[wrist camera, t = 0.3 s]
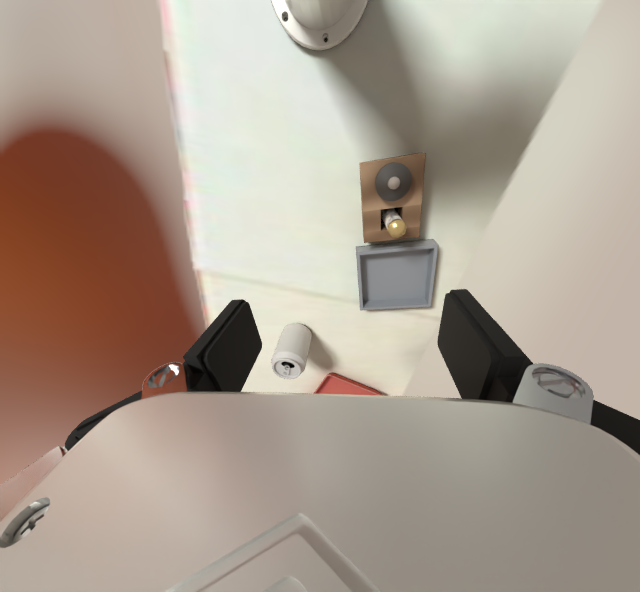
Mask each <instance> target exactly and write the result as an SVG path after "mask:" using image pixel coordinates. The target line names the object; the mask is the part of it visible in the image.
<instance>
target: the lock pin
mask: <svg viewBox="0 0 640 592" xmlns="http://www.w3.org/2000/svg"><path fill="white" fill-rule="evenodd" d="M381 216H382V219H383V221H384V223H385V225H386V227H387V229H388V232H389V234H390V235H391V236H392V237H394V238H399V237H401V236H403V235H404V234H405V232H406V229H407V227H406V224H405V223H404V221H403V220H402V219H401V217H400V216H399V215H398V213H397V212H396V211H395V209H394V208H389V209H383V210H382V212H381Z"/></svg>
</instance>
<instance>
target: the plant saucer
mask: <svg viewBox="0 0 640 592" xmlns="http://www.w3.org/2000/svg"><path fill="white" fill-rule="evenodd" d="M314 394H346V395H379V396H383V395H382V394H381V393H379V392H378V391H376V390H375V389H372V388H370V387H367V386H365V385H362V384H360V383H357V382H355V381H352V380H350V379H347V378H345V377H342V376H340V375H337V374H335V373H329V374H328V375H326V377H325V378H324V380H323V381H322V382H321V384H320V385H319V387H318V388H317V389H316V391H315V392H314Z"/></svg>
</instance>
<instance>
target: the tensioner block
mask: <svg viewBox="0 0 640 592" xmlns="http://www.w3.org/2000/svg"><path fill="white" fill-rule="evenodd" d="M425 154H426V153H417V154H411V155H405V156H399V157H392V158H386V159H380V160H374V161H368V162H362V163H360V180H361V200H362V219H363V237H364V243H367V242H377V241H387V240H396V239H406V238H416V237H419V233H420V220H421V207H422V193H423V180H424V167H425ZM397 207H398V215H399V216H400V217H401V219H402V220H403V221H404V223H405V224H406V227H407V229H406V232H405V234H404V235H403V236H401V237H399V238H394V237H392V236H391V235H390V234H389V232H388V229H387V227H386V225H385V224H381V209H389V208H397Z"/></svg>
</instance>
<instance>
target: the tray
mask: <svg viewBox="0 0 640 592" xmlns="http://www.w3.org/2000/svg"><path fill="white" fill-rule="evenodd" d="M437 252H438V244H437V242H436V241H435V240H434V239H428V240H418V241H408V242H398V243H388V244H378V245H369V246H359V247H356V256H357V270H358V285H359V299H360V310H377V309H396V308H416V307H431V301H432V293H433V285H434V277H435V268H436V260H437Z"/></svg>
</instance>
